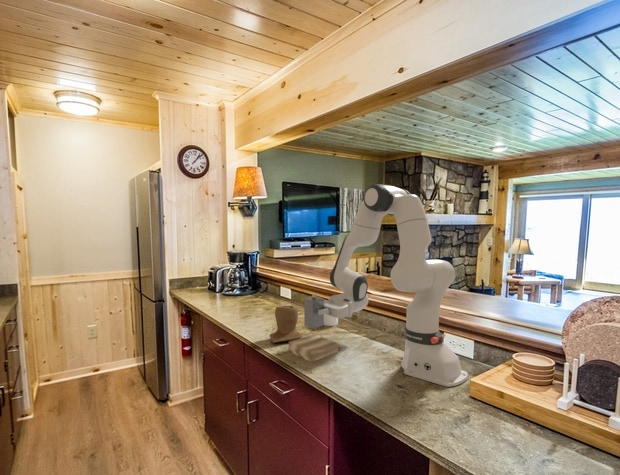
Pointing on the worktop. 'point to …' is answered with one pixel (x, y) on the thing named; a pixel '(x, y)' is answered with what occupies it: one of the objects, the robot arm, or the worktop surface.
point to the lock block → (313, 311)
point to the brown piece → (285, 324)
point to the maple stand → (313, 347)
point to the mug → (330, 320)
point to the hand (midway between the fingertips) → (312, 310)
